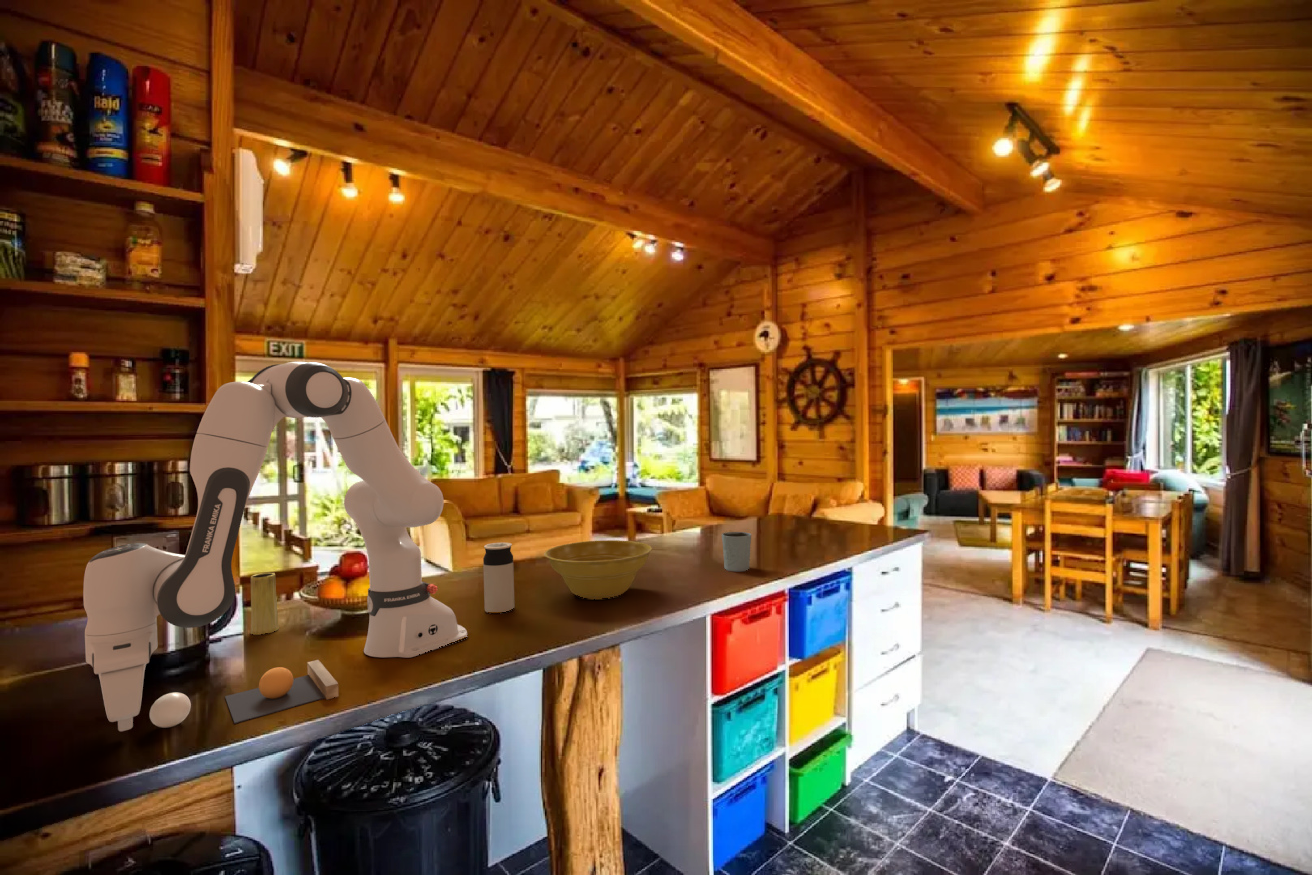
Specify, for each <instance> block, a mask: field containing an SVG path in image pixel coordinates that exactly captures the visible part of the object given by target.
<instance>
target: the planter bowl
mask: <svg viewBox="0 0 1312 875" xmlns="http://www.w3.org/2000/svg"><path fill="white" fill-rule="evenodd" d="M652 551H653V547H652V546H651V545H650V544H648V543H644V542H639V541H632V540H619V539H618V540H616V539H614V540H611V539H610V540H609V539H608V540H607V539H605V540H602V539H601V540H588V541H586V540H585V541H577V542H570V543H567V544H566V543H565V544H560V545H557V546H554V547H550V548H549V549H547V550H545V552H544V553H543V556H544V557H545V558H547V559H548V561H549V564H550V566H551V567H552V569H553V571H555V572H556V573H558V574H559V575H560V576H561V577H562V579H563V581H564V583H565V585H566V586H567V588H568V589H569V590H570V592H571V593H572V594H574V595H576V596H577V595H578V596H580V597H583V598H582V599H584V598H591V599H590V600H594V599H595V600H603V599H602V598H608V599H611V598H610V597H613V598H615V597H614V596H617V595H620V596H622V595H623V594H624V593H625V592H626V591H628V590H629V589H630V587H631V585H632V583H633V581H634V580H635V577H636V575H637V572H638V571H639V570H640V569H641V568H643V567H644V566H645V565H646V562H647V560H648V557H649V554H650V553H652ZM621 594H622V595H621ZM578 596H577V597H578ZM580 597H579V598H580ZM617 597H618V596H617Z"/></svg>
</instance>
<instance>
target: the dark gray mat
mask: <svg viewBox="0 0 1312 875" xmlns="http://www.w3.org/2000/svg"><path fill="white" fill-rule="evenodd" d="M224 699H225V701H226V704H227V707H228V710H229V712H230V715H231V718H232V720H233V724H234V725H236V724H238V723H243V722H246V721H250V720H253V719H257V718H260V717H263V716H267V715H270V714H273V713H277V712H281V711H285V710H288V709H291V708H294V707H295V706H296V707H298V706H302V705H303V706H304V705H305V704H309V703H312V702H317V701H321V700H323V699H326V698H325V696H324V695H323V693H322V692H321V691H320V689H319V688H318V687H317V685H316V684H315V682H314V681H313V680H312V678H311V677H310V676H309V675H308V674H307V675H304V676H298V677H295V678H294V677H293V685H292V687H291V689H290V690H289V691H288V692H287V693H286V694H285V695H283V696H282V697H279V698H275V699H270V698H266V697H265V696H263V695H262V694H261V692H260V690H259V687H256V688H252V689H249V690H248V689H247V690H245V691H240V692H236V693H233V694H229V695H225V696H224ZM249 719H250V720H249Z"/></svg>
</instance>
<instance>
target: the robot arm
mask: <svg viewBox="0 0 1312 875" xmlns="http://www.w3.org/2000/svg"><path fill="white" fill-rule="evenodd" d="M376 400H377V399H376V398H375V397H374V396H373V393H372V392H371V391H370V389H369V388H368V386H367V385H366V384H365V383H364V382H363V381H362V380H360V379H358V378H355V377H343V376H342V375H341V374H340V373H339V371H337V370H336V369H334V368H332V367H331V366H328V365H326V364H324V363H321V362H312V361H311V362H310V361H309V362H306V361H290V362H289V361H288V362H286V363H281V364H280V363H279V364H272V365H269V366H266V367H264V368H262V369H260V370H258V372H256V373H255V374H254V375H253V377H252V378H250V379H249V380H248V381H233V382H228V383H224V384H222V385H221V386H220V387H218V389H217V390H216V392H214V395H213V397H212V398H211V399H210V402H209V403H208V405H207V407H206V409H205V412H204V413H203V415H202V418H201V421H200V422H199V426H198V428H197V431H196V434H195V437H194V440H193V444H192V449H191V452H190V460H189V461H190V463H189V474H190V475H191V477H192V480H193V482H194V485H195V486H194V487H195V488H196V493H197V512H196V517H195V518H194V523H193V527H192V529H191V534H190V538H189V541H188V545H187V548H186V552H185V554H181V553H174V552H170V551H165V550H162V549H159V548H156V547H153V546H151V545H149V544H148V543H145V542H135V543H134V542H133V543H129V544H128V543H127V544H123V545H118V546H114V547H110V548H108V549H105V550H103V551H100V552H99V553H98V552H97V554H96V555H94V556H92V557H91V559H89V560H88V563H87V564H86V567H85V571H84V576H83V592H82V593H83V594H82V596H83V598H82V599H83V608H84V610H85V612H86V615H87V623H86V626H85V629H84V643H85V644H84V645H85V646H84V647H85V648H84V649H85V662H86V663H87V664H89V665H90V666H91V667H92V668H93V669H92V670H93V673H94V674H95V675H98V678H99V682H100V687H101V688H100V689H101V693H102V699H103V706H104V708H105V713H106V717H107V719H108V721H109V722H110V723H114V722H117V730H118V731H119V732H125V731H128V730H131V729H132V728H133V727H134V723H133V722H134V717H136V716H138V715H139V714H140V711H141V706H142V698H143V689H144V688H143V687H144V679H145V672H146V671H145V670H146V666H147V664H149V663H150V660H151V656H152V655H153V653H154V651H156V650H157V649H158V625H157V624H158V622H157V619H158V618H157V617H158V616H159V615H160V616H161V617H162V618H163V619H164V620H165V621H166V622H167V623H169V624H170V625H173V626H175V627H179V628H184V629H185V628H186V629H191V628H199V627H203V626H206V625H208V624H211V623H213V622H214V621H216V620H218V619H219V618H221V617H222V616H223V615H224V614H226V612H227V611H228V610H230V607H231V606H232V604H233V602H234V599H235V595H236V585H235V580H234V575H233V571H232V562H233V561H232V560H233V555H234V553H235V552H234V551H235V548H236V543H237V539H238V537H239V536H238V535H239V531H240V528H241V524H242V521H243V516H244V512H245V508H246V504H247V501H248V499H249V497H250V496H251V491H252V489H253V487H254V485H255V482H256V481H257V477H258V475H259V473H260V471H261V468H262V465H263V463H264V461H265V459H266V455H267V452H268V448H269V446H270V441H271V439H272V438H271V436H272V432H273V431H274V429H275V427H276V426H277V424H278V423H279V422H280V421H281V420H283V418H288V419H289V418H291V419H304V418H315V419H316V418H321V419H322V420H323V421H324V423H325V424H326V425H327V428H328V430H329V432H330V435H331V437H332V439H333V441H334V443H335V445H336V446H337V447H336V448H337V450H338V452H339V453H340V455H341V457H342V459H343V461H344V462H343V463H345V466H346V467H347V469H349V471H350V472H351V473H352V474H354V475H356V476H357V477H359V478H360V479H361V480H360V481H358V482H355V483H353V484H352V485H351V486H350V487H349V488H348V489H347V491H346V494H344V495H345V496H344V504H343V505H344V509H345V512H346V514H347V515H348V516H349V517H350V518H351V519H352V520H353V522H355V524H356V525H357V527H358V530H359V532H360V534H361V537H362V539H363V543H364V545H365V548H366V553H367V558H368V573H369V576H368V577H369V588H368V589H367V596H366V597H367V599H366V600H367V610H368V614H369V618H368V619H369V620H368V622H369V623H368V629H367V630H368V631H367V635H366V641H365V645H364V648H363V653H364V654H365V655H367V656H369V657H373V658H407V659H408V658H413V657H416V656H420V655H423V654H425V652H426V653H428V651H429V652H431V651H430V650H432V651H435V650H437V649H440V648H442V647H441V646H443V647H446V646H448V645H447V644H449V643H451V642H455V641H457V640H459V639H462V638H464V637H467V638H468V636H467V635H468V631H467V629H466V628H465V627H463V626H462V625H461V624H458V620H457V617H456V614H455V613H454V611H453V609H452V608H451V607H450V606H448V605H446V604H444V603H443V602H441V601H439V600H438V599H436V598H434V597H432V596H431V594H432V595H435V594H436V593H437V592H438V590H439V589H438V586H437V585H435V584H434V583H428V582H425V581H423V580H422V573H423V572H422V552H421V549H420V547H419V546H418V544H416V543H415V541H413V539H412V538H411V536H410V535H409V532H408V529H407V528H417V527H423V526H428V525H432V524H433V523H435V522H436V521H437V520H438V519H439V518H440V516H441V514H442V512H443V509H444V500H445V499H444V496H443V492H442V490H441V489H440V487H439V486H437V484H435V483H433V482H431V481H430V480H428V479H427V478H426V477H424V476H423V475H422V473H420V472H419V470H417V469H416V468H415V467H414V466H413V465H412V463H411V462H410V460H408V459H407V457H406V456H405V455H404V453H403V452H402V451H401V449H400V447H399V445H398V443H397V442H396V439H395V438H394V435H393V433H392V431H391V428H390V426H389V425H388V422H387V420H386V418H385V416H384V413H383V411H382V409H381V407H380V406H379V403H378V402H377V401H376ZM455 643H456V642H455ZM445 645H446V646H445ZM449 645H450V644H449ZM439 647H440V648H439ZM419 654H420V655H419Z"/></svg>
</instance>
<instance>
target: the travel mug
mask: <svg viewBox="0 0 1312 875" xmlns="http://www.w3.org/2000/svg"><path fill="white" fill-rule="evenodd" d="M512 546H513V544H512V543H511V542H493V543H487V544H485V545H484V546H483V548H484V549H485V550H484V551H485V553H484V555H483V562H482V563H483V589H484V590H483V595H484V596H483V597H484V598H483V599H484V611H485V612H486V613H488V612H506V611H509V610H511V609H513V608H514V609H515V582H514V581H515V580H514V579H515V575H514V572H515V571H514V570H515V569H514V554H513V553H512V552H511V548H512ZM514 609H513V610H514ZM511 611H512V610H511ZM509 612H510V611H509ZM506 613H507V612H506Z"/></svg>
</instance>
